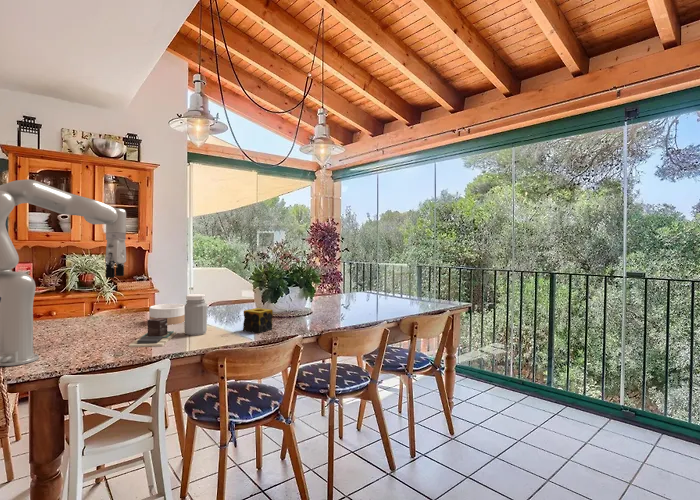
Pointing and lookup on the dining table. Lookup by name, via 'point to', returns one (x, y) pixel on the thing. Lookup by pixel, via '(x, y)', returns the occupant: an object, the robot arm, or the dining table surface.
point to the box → (157, 327)
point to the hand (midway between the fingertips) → (115, 276)
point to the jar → (195, 315)
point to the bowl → (168, 312)
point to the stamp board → (152, 340)
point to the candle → (257, 320)
